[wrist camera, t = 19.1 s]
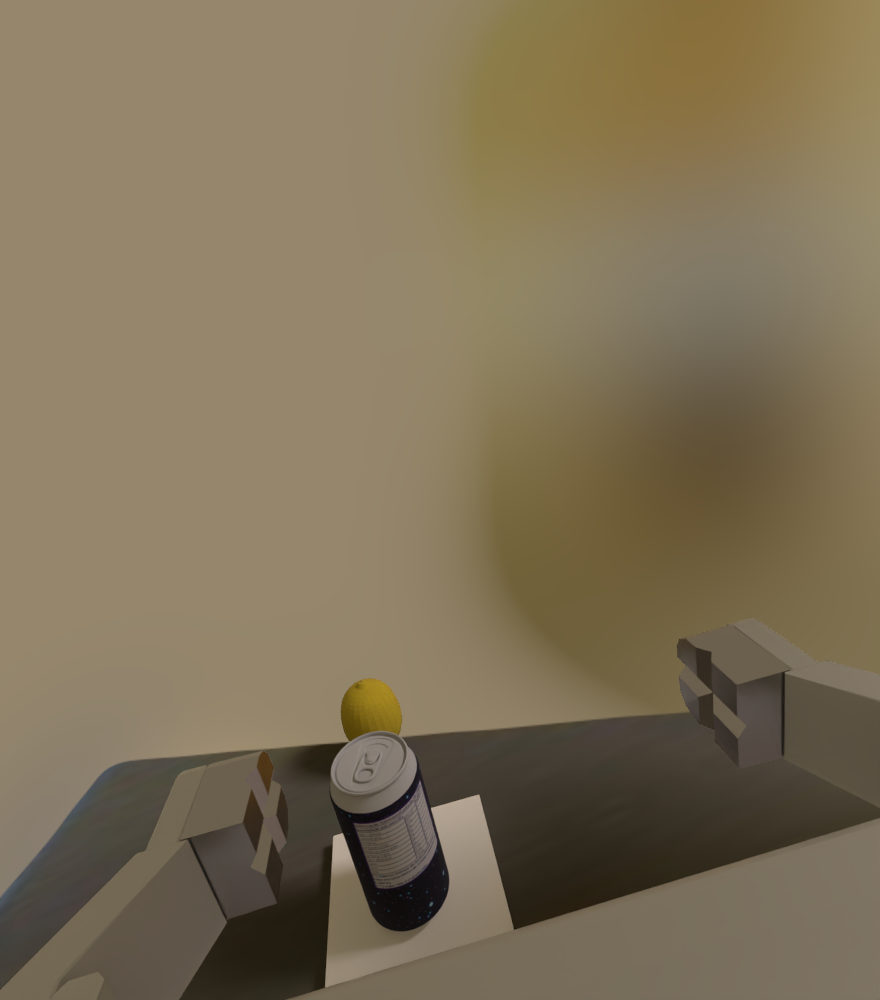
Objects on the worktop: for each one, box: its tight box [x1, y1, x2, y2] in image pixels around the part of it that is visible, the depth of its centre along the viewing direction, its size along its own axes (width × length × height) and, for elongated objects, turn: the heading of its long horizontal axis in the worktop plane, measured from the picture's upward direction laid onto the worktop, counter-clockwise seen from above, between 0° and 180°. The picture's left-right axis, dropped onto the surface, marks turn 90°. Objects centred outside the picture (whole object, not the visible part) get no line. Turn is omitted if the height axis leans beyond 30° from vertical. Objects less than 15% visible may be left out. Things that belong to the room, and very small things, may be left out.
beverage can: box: [330, 731, 449, 932], centre depth 35 cm, size 6×6×12 cm
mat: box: [325, 795, 514, 988], centre depth 37 cm, size 12×12×1 cm
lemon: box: [341, 679, 402, 741], centre depth 50 cm, size 6×6×8 cm
